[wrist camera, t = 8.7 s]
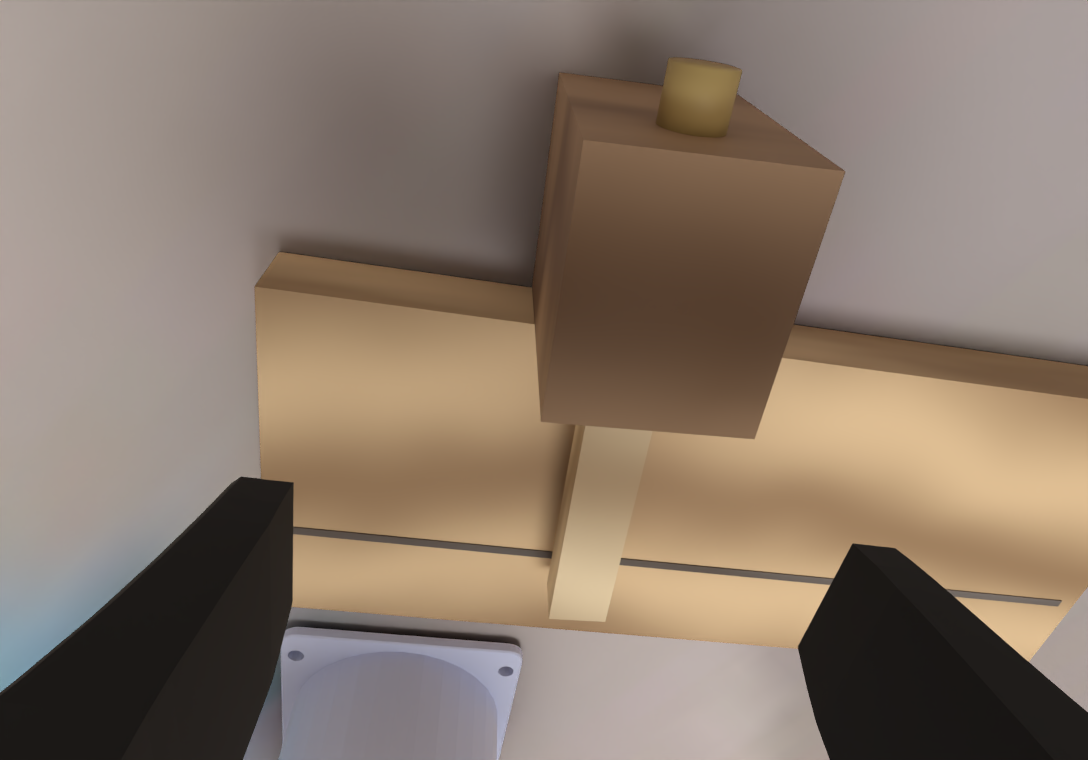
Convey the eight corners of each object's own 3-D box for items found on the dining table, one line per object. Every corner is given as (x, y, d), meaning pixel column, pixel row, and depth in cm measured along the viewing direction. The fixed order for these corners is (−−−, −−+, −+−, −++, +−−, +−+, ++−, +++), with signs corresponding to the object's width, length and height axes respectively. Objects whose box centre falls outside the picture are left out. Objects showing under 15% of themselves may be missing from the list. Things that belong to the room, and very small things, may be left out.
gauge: (630, 525, 23) (666, 698, 18) (502, 516, 22) (500, 691, 17) (751, 46, 16) (869, 102, 11) (565, 20, 15) (594, 66, 10)
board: (989, 618, 26) (1025, 668, 24) (283, 553, 23) (265, 605, 21) (1161, 376, 20) (1222, 418, 19) (279, 251, 17) (253, 287, 16)
